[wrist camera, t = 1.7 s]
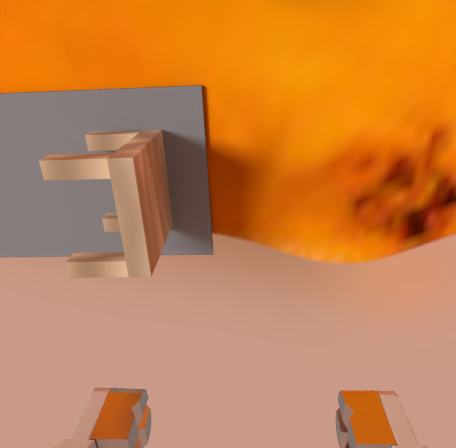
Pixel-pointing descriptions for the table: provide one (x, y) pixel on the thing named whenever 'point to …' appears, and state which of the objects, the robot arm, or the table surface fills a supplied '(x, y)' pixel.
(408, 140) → the table surface
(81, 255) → the stool
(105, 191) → the mat
